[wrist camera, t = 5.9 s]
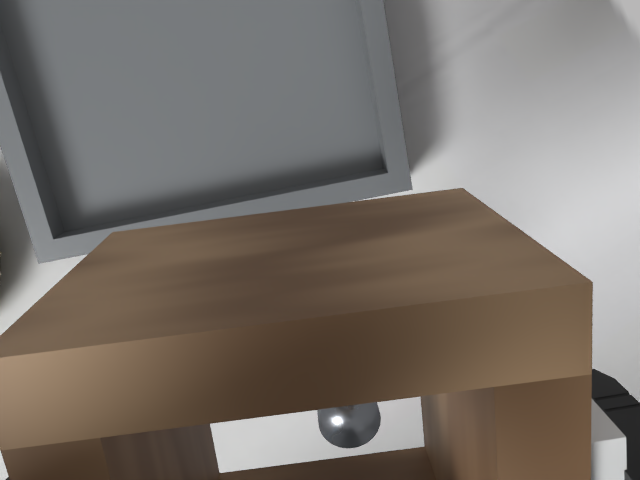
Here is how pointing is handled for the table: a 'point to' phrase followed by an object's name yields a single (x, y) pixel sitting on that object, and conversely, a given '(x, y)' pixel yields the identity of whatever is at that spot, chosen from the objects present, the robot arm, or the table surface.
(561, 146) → the table surface
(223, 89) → the tray
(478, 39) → the table surface
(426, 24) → the table surface
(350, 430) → the grey rounded cylinder
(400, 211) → the wooden light box
